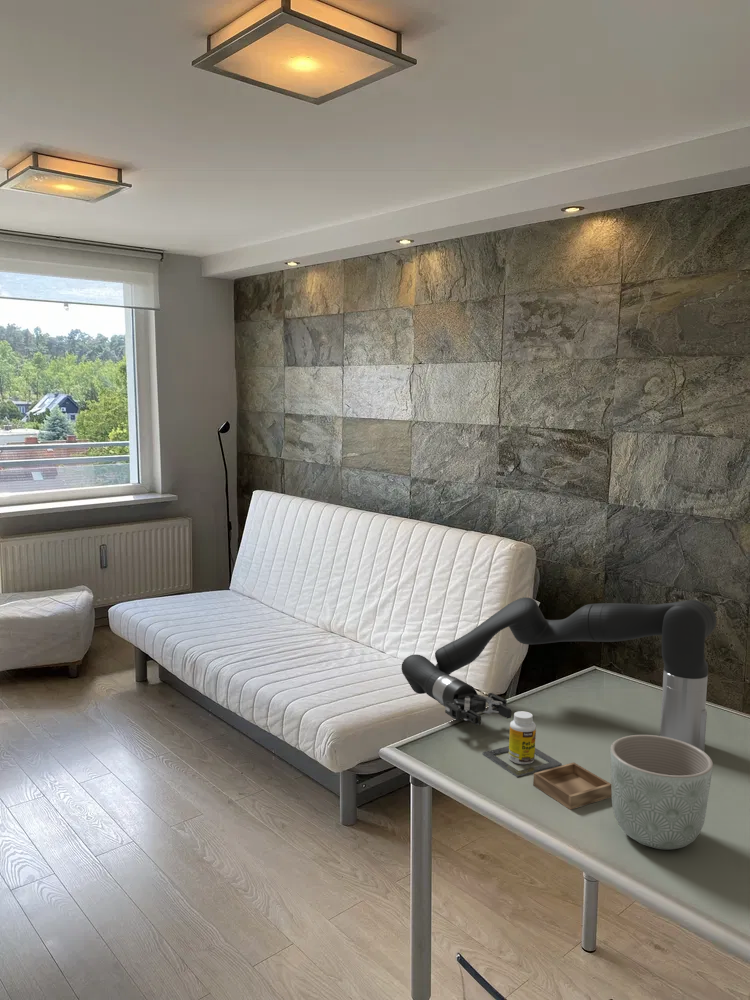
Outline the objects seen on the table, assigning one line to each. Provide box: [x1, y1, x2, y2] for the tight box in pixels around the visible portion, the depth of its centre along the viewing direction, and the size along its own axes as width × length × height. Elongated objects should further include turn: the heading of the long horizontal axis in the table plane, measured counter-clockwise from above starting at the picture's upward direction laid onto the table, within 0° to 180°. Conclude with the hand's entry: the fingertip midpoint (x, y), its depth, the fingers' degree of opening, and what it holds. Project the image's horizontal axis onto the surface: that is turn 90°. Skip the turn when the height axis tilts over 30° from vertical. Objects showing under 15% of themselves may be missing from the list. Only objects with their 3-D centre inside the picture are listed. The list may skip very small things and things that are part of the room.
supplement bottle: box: [508, 710, 537, 765], centre depth 165 cm, size 6×6×10 cm
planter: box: [610, 734, 714, 850], centre depth 136 cm, size 17×17×15 cm
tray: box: [532, 762, 612, 810], centre depth 152 cm, size 11×11×3 cm
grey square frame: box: [482, 745, 563, 778], centre depth 166 cm, size 12×12×1 cm
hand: (495, 717), depth 174 cm, fingers open, 8 cm apart
